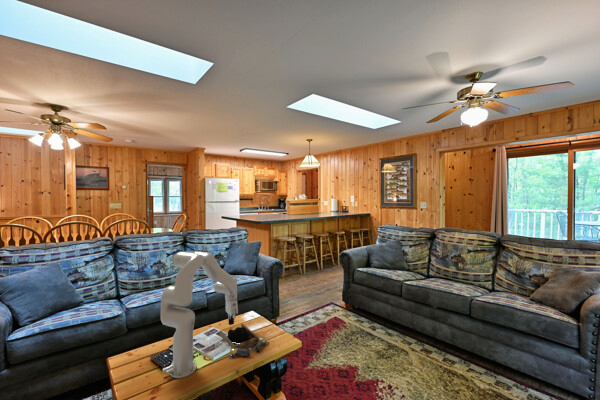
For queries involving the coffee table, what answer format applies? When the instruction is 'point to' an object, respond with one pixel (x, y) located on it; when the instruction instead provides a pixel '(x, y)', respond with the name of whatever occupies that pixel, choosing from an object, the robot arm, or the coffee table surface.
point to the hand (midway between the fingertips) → (231, 324)
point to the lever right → (260, 343)
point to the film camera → (238, 335)
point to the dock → (243, 344)
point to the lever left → (239, 352)
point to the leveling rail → (247, 348)
